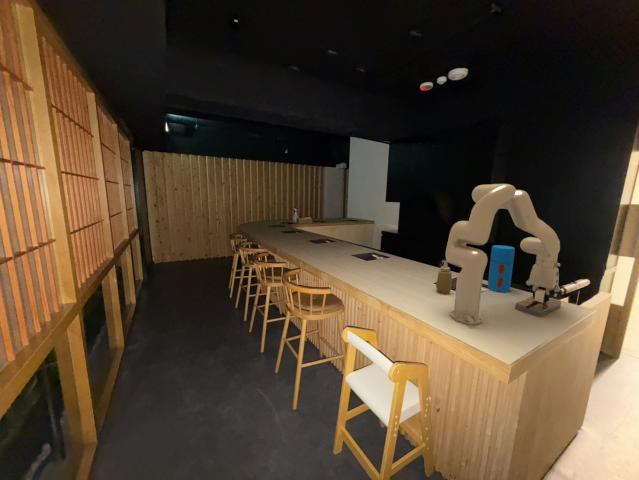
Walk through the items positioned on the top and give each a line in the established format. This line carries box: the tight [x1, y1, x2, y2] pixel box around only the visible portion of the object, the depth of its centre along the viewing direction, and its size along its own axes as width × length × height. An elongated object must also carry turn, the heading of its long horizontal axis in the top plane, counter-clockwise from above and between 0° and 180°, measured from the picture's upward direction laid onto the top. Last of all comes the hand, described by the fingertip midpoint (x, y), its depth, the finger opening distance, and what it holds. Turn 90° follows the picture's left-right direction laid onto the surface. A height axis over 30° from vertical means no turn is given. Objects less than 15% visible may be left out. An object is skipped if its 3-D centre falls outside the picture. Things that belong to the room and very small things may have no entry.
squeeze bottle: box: [435, 260, 453, 295], centre depth 148 cm, size 8×8×18 cm
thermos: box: [487, 244, 516, 294], centre depth 153 cm, size 11×11×25 cm
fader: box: [534, 288, 546, 303], centre depth 129 cm, size 4×3×6 cm
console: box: [514, 295, 562, 318], centre depth 129 cm, size 22×10×3 cm, turn 121°
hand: (540, 300), depth 130 cm, fingers closed on fader, 3 cm apart
